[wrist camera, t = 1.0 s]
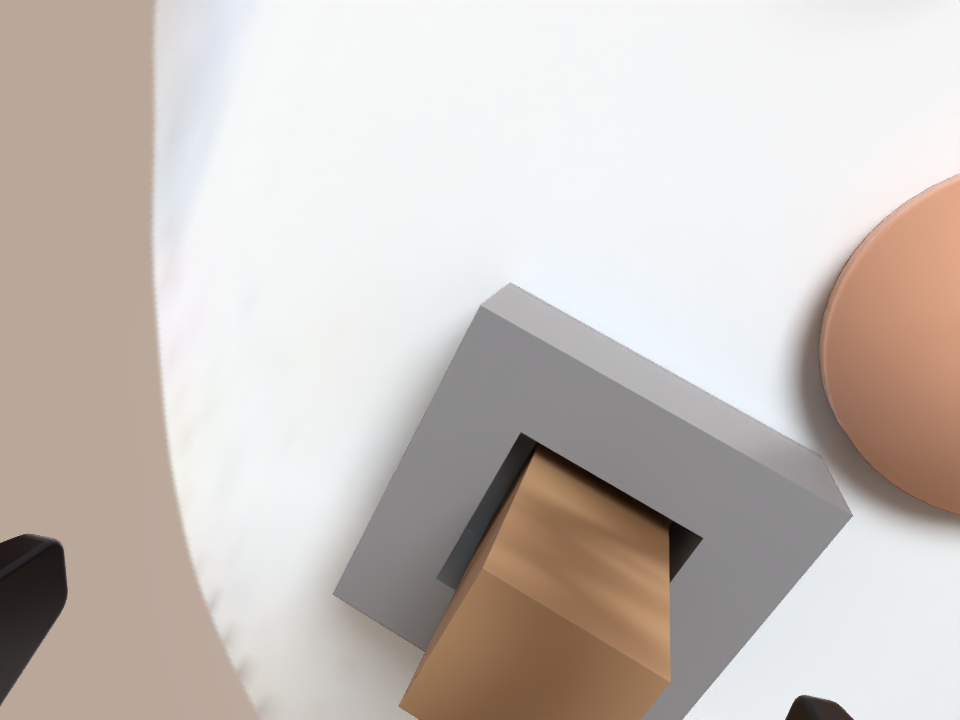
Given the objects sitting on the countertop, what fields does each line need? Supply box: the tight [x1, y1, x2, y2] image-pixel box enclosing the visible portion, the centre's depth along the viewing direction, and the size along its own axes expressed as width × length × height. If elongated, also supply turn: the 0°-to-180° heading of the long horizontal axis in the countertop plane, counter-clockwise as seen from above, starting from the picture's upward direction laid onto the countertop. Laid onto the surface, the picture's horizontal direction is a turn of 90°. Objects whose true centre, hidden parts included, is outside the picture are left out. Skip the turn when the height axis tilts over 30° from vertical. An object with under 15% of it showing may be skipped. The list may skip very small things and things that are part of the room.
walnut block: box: [399, 442, 671, 720], centre depth 17 cm, size 4×4×8 cm
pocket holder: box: [333, 283, 853, 720], centre depth 20 cm, size 10×10×4 cm
